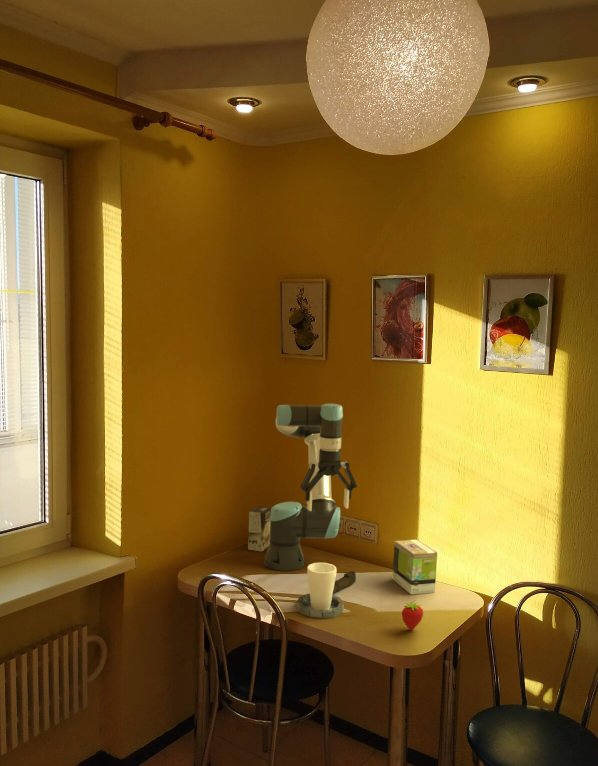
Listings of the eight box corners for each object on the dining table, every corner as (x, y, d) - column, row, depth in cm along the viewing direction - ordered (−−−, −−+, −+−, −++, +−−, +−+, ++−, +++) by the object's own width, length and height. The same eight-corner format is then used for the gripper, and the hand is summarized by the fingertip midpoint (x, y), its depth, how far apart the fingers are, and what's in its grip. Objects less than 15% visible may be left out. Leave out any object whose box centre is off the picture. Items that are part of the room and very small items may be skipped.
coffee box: (262, 552, 280) (263, 512, 278) (247, 549, 282) (248, 510, 280) (270, 544, 289) (271, 507, 287) (256, 542, 291) (257, 505, 289)
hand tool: (328, 599, 237) (329, 586, 236) (319, 595, 239) (320, 582, 239) (361, 584, 251) (362, 571, 250) (352, 581, 254) (353, 568, 253)
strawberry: (426, 630, 215) (428, 599, 214) (411, 637, 210) (413, 605, 209) (411, 623, 219) (413, 592, 218) (396, 630, 214) (397, 599, 213)
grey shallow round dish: (291, 601, 234) (291, 595, 233) (333, 596, 238) (333, 591, 238) (305, 620, 219) (305, 614, 219) (350, 615, 224) (350, 609, 224)
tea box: (436, 592, 245) (438, 551, 243) (410, 595, 242) (412, 554, 240) (416, 576, 259) (418, 538, 257) (391, 579, 256) (393, 540, 254)
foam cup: (320, 598, 235) (321, 560, 234) (340, 606, 229) (342, 568, 227) (300, 605, 229) (301, 567, 227) (320, 614, 222) (322, 575, 221)
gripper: (299, 452, 234) (296, 514, 237) (367, 450, 242) (365, 509, 244) (292, 447, 241) (290, 507, 244) (359, 445, 249) (356, 503, 251)
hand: (327, 508), depth 244 cm, fingers open, 13 cm apart
